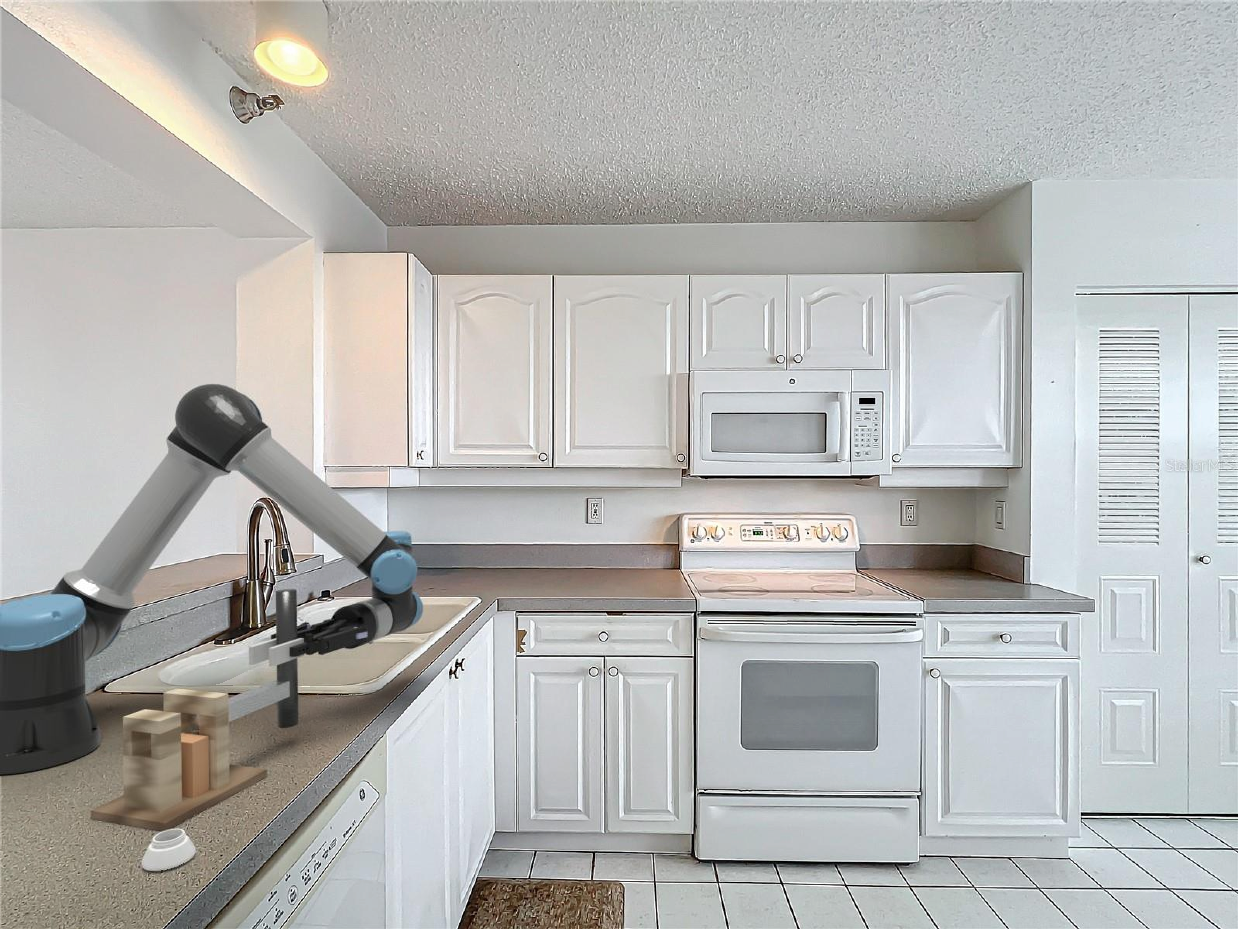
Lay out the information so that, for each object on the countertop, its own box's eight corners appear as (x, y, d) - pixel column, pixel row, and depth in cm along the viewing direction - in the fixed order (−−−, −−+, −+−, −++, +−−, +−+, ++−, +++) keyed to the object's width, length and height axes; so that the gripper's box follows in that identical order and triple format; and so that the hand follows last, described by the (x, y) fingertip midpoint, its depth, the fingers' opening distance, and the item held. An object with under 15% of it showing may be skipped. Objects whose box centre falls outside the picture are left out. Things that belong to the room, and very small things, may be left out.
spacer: (150, 791, 96) (150, 738, 96) (167, 783, 98) (167, 731, 98) (193, 798, 94) (192, 743, 94) (209, 789, 96) (208, 736, 96)
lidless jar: (201, 847, 84) (152, 853, 82) (201, 821, 84) (151, 827, 82) (186, 871, 79) (134, 877, 78) (186, 843, 79) (134, 850, 78)
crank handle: (190, 765, 99) (188, 610, 99) (287, 720, 116) (285, 588, 116) (207, 767, 98) (205, 611, 98) (302, 722, 115) (300, 589, 115)
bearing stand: (90, 818, 91) (89, 713, 91) (199, 767, 106) (198, 677, 106) (165, 831, 87) (163, 722, 87) (266, 776, 102) (265, 683, 102)
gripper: (399, 647, 129) (305, 685, 107) (323, 641, 134) (218, 677, 112) (398, 604, 129) (304, 634, 107) (323, 600, 134) (218, 628, 112)
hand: (261, 656), depth 109 cm, fingers closed on crank handle, 3 cm apart
